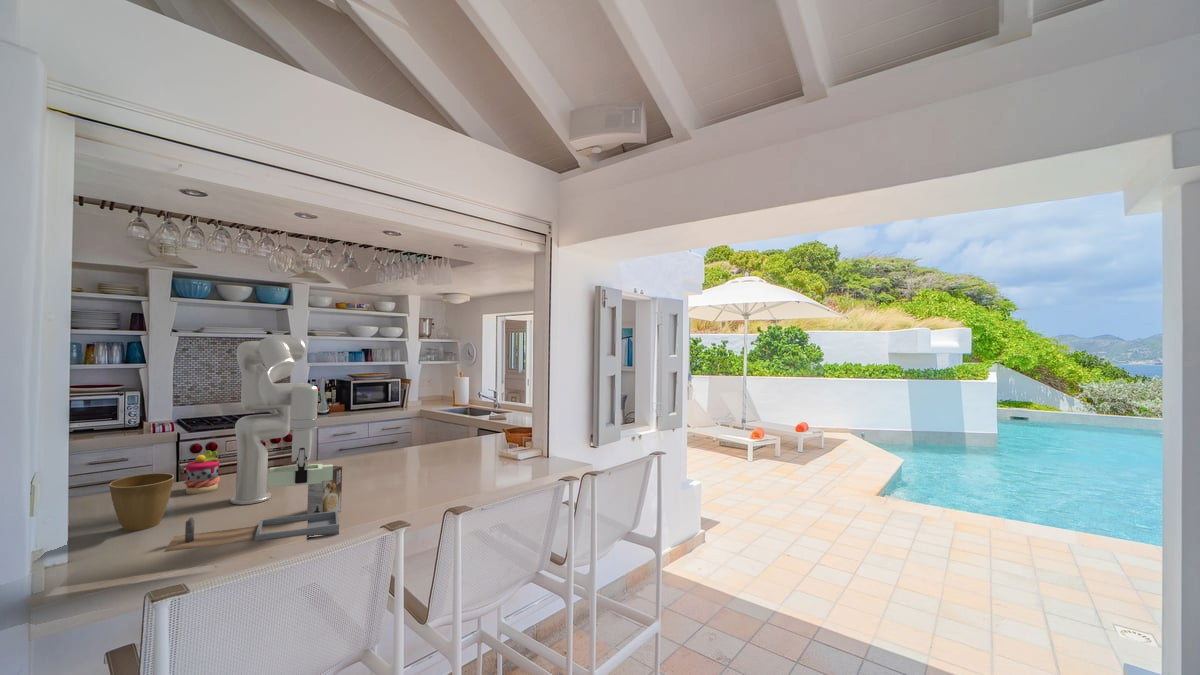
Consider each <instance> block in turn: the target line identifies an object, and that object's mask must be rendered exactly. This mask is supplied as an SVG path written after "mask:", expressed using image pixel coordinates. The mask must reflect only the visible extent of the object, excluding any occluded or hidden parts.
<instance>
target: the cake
mask: <svg viewBox="0 0 1200 675" xmlns="http://www.w3.org/2000/svg"><path fill="white" fill-rule="evenodd" d="M217 455H218V451H216V450H215V451H211V450H209V449H208V450H206V451H205V452H204V453H203V454H199V455H197V456H196V457H195V460H194V461H191V462H189V463H188V462H187V463H186V465H185V473H186V480H185V482H183V484H184V485H185V494H187V495H201V494H208V493H213V492H215V491H217V490H218V489H219V488H218V485H219V482H220V480H221V478H220V476H219V474H220V472H219V470H220V469H219V468H220V461H219V459H218V457H216V456H217Z"/></svg>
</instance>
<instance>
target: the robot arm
mask: <svg viewBox="0 0 1200 675" xmlns="http://www.w3.org/2000/svg"><path fill="white" fill-rule="evenodd" d="M306 353H307V346H306V343H305V342H304V340H303V339H302V338H301V337H296V336H268V337H264V338H262V339H261V340H251V341H249V340H248V341H244V342H241V343H240V344H239V345H238V347H237V349H236V360H237V363H238V366H239V369H240V372H241V373H240V374H241V385H240V386H241V390H240V392H241V393H240V395H241V396H240V402H241V403H240V405H241V408H242V410H244V411H246V412H264V411H265V412H266V411H274V413H263V414H253V415H252V414H251V415H245V416H242V417H241V418H239V419H237V421H236V422H235V425H234V429H235V430H234V431H235V438H236V446H237V447H236V449H237V451H236V454H237V456H236V478H235V479H236V480H235V481H236V482H235V495H234V496H231V498H230V501H229V502H230V503H231V504H232V505H252V504H253V505H254V504H258V503H261V502H265V501H268V500H270V499H271V498H272V493H271V492H269V491H268V490H267V489H268V467H269V464H268V461H269V460H268V458H269V451H268V448H267V447H266V446H265V445H264V444H263V443H262V441H263V440H270V439H271V440H273V439H279V438H284V437H286V436H287V435H289V433H290V431H293V432H292V440H291V462H292V463H294V462H296V465H295V466H296V470H295V483H296V484H297V483H306V482H307V465H309V463H308V461H310V457H311V452H312V445H313V430H316V429H318V403H319V402H318V401H319V388H318V387H317V385H313V384H310V383H309V382H281V383H276V382H278V381H280V380H283V379H286V378H288V377H289V376H291V375H292V374H294V372H295V371H296V369H297V368H296V367H297V363H296V362H299V361H301V360H302V359H304V358H305V356H306ZM304 469H305V470H304Z"/></svg>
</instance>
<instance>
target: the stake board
mask: <svg viewBox="0 0 1200 675" xmlns="http://www.w3.org/2000/svg"><path fill="white" fill-rule="evenodd" d="M256 528H257V526H248V527H247V526H246V527H240V528H239V527H238V528H231V529H230V528H229V529H222V530H216V531H214V530H213V531H209V532H208V531H206V532H201V533H200V532H198V533H195V520H194V516H191V517H189V518H188V519H187V520H186V521H185V527H184V529H185V531H184V533H185V534H184V535H183V534H182V535H176V536H174V537H173V538H172V539H171V542H169V544H168V545H167V547H166V548H165V549H164V551H163V553H167V552H174V551H181V550H182V551H183V550H189V549H197V548H204V547H212V546H219V545H220V546H221V545H226V544H232V543H233V544H234V543H240V542H247V541H252V539H253V537H254V533H255V531H256Z"/></svg>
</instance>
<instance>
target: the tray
mask: <svg viewBox="0 0 1200 675" xmlns="http://www.w3.org/2000/svg"><path fill="white" fill-rule="evenodd" d="M300 521H307V527H304V528H303V527H302V528H296V529H290V530H289V529H288V530H281V531H273V532H266V533H262V529H263V526H269V525H276V524H277V525H278V524H284V523H292V522H300ZM301 535H306V538H307V537H309V536H314V535H325V536H324V537H326V536H334V535H340V517H339V512H338V511H331V512H323V513H314V514H307V513H305V514H299V515H291V516H282V517H276V518H265V519H260V520H259V524H258V526H257V529H256V532H255V536H254V541H255V542H257V541H264V540H271V539H278V538H286V537H292V536H301Z"/></svg>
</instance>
